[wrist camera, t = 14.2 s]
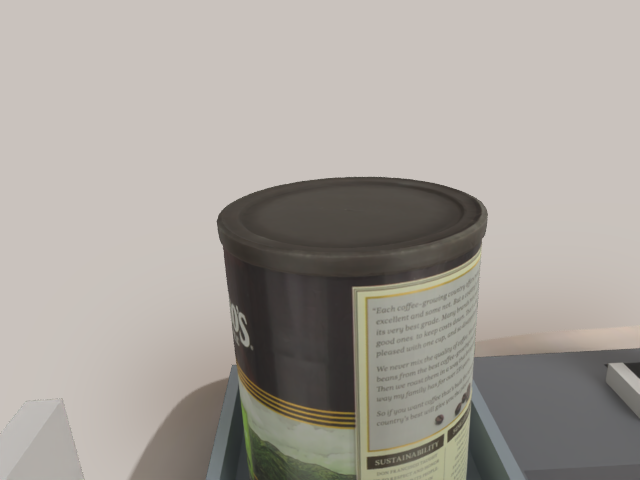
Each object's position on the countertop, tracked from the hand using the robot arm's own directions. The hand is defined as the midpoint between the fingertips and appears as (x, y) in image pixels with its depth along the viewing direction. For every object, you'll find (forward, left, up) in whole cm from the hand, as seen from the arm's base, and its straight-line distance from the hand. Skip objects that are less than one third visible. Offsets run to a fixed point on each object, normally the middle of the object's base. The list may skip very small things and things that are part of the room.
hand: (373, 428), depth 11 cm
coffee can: (0, -10, -12) cm, 16 cm away
